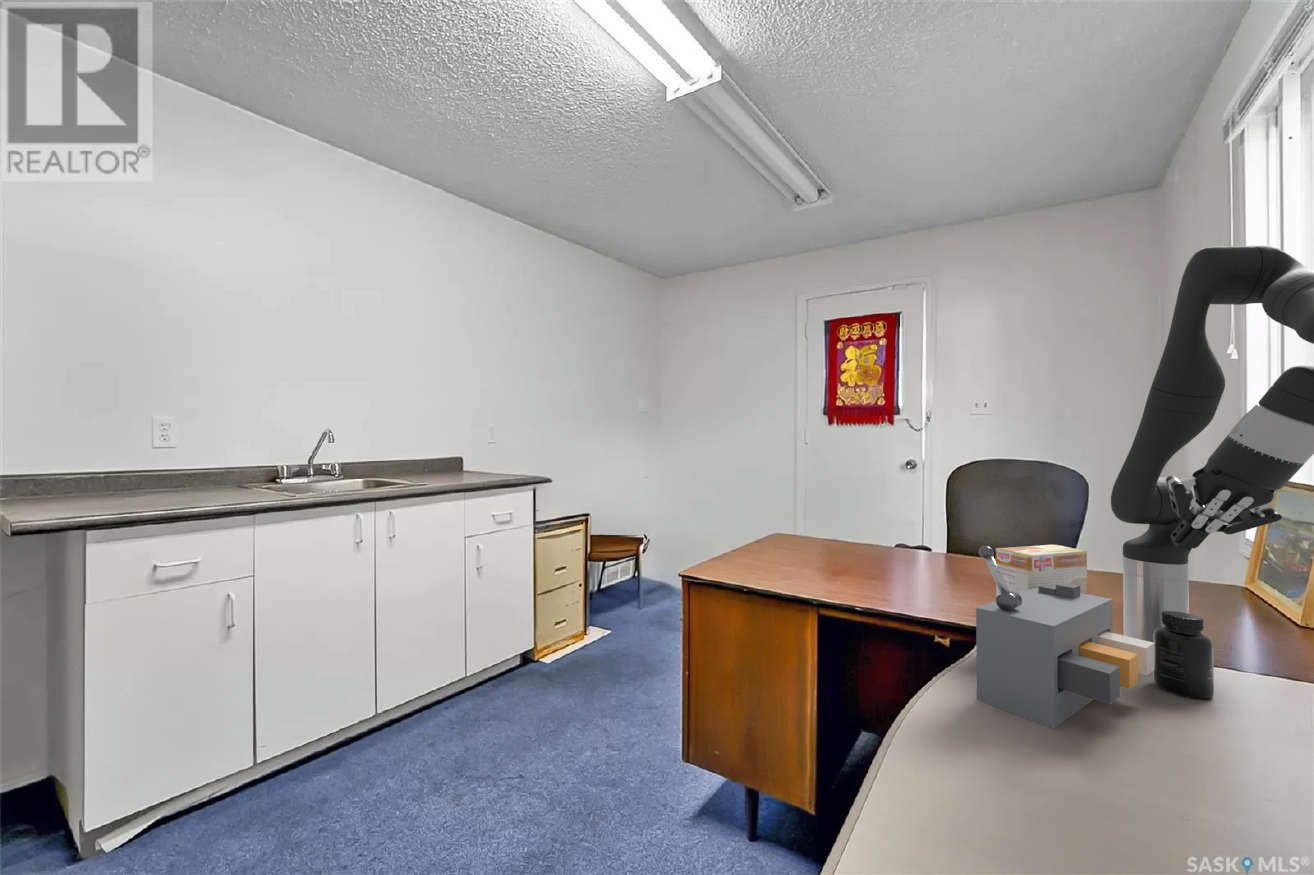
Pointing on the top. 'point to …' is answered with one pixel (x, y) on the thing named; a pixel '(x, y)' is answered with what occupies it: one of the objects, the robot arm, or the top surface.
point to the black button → (1089, 677)
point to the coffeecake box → (1041, 567)
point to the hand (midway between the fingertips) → (1179, 545)
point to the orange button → (1113, 660)
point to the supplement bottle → (1183, 656)
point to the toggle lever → (1000, 582)
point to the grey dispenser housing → (1036, 650)
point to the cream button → (1131, 649)
